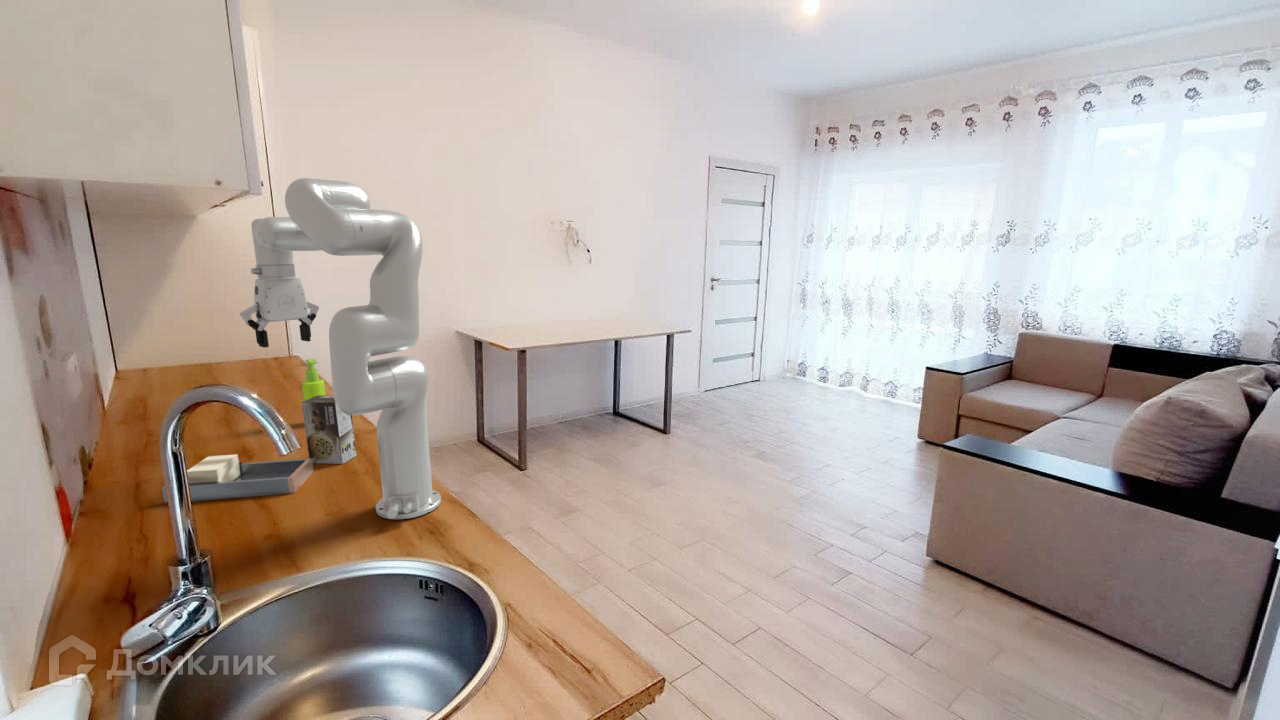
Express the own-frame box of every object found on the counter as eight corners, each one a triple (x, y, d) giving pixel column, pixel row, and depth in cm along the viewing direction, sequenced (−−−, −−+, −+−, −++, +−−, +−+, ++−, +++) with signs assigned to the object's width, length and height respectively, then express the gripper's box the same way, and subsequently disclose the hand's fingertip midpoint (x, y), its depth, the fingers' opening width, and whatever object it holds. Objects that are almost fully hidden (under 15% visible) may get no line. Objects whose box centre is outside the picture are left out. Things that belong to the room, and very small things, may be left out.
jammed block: (220, 491, 122) (216, 469, 121) (188, 494, 121) (184, 472, 120) (240, 474, 131) (237, 454, 130) (211, 476, 130) (208, 456, 129)
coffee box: (357, 455, 147) (351, 395, 143) (342, 464, 140) (335, 402, 137) (324, 454, 148) (317, 394, 144) (308, 463, 141) (300, 401, 138)
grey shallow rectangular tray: (294, 493, 124) (292, 476, 124) (164, 503, 120) (161, 486, 119) (313, 472, 136) (311, 456, 135) (196, 480, 131) (193, 464, 130)
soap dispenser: (310, 428, 168) (302, 362, 164) (304, 423, 173) (296, 359, 169) (332, 424, 172) (324, 359, 168) (325, 419, 177) (318, 356, 173)
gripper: (243, 274, 124) (254, 351, 128) (321, 271, 139) (329, 340, 142) (227, 273, 128) (238, 347, 132) (305, 270, 143) (313, 337, 146)
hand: (285, 343), depth 137 cm, fingers open, 9 cm apart
